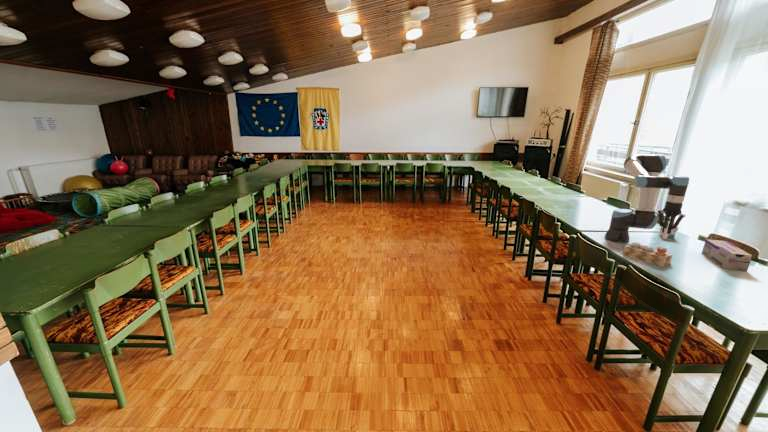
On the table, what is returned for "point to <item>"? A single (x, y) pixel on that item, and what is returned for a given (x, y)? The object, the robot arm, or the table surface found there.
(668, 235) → the ink box
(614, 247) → the table surface
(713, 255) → the surgical sutures box
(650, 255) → the press block
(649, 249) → the grey plunger middle
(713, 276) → the table surface
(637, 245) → the grey plunger near
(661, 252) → the terracotta plunger
